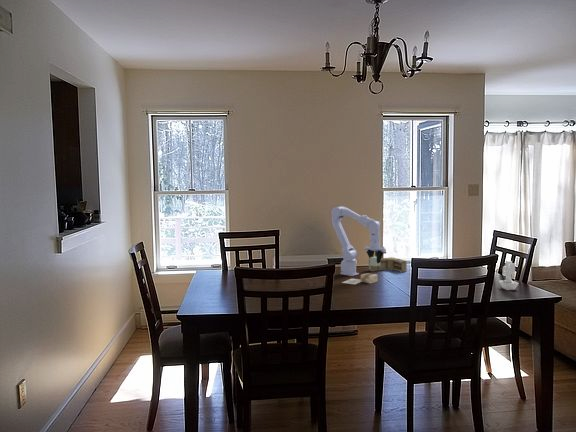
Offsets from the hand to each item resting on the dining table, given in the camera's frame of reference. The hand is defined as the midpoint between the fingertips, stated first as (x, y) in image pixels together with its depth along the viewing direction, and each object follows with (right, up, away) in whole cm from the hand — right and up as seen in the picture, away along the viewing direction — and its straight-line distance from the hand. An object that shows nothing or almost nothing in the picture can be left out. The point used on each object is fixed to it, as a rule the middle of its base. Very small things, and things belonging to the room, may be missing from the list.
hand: (375, 262), depth 277 cm
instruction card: (-15, -10, -10) cm, 21 cm away
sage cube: (0, -2, 0) cm, 2 cm away
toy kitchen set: (+11, -8, +17) cm, 22 cm away
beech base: (-6, -10, -11) cm, 16 cm away
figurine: (+64, -10, -37) cm, 75 cm away
